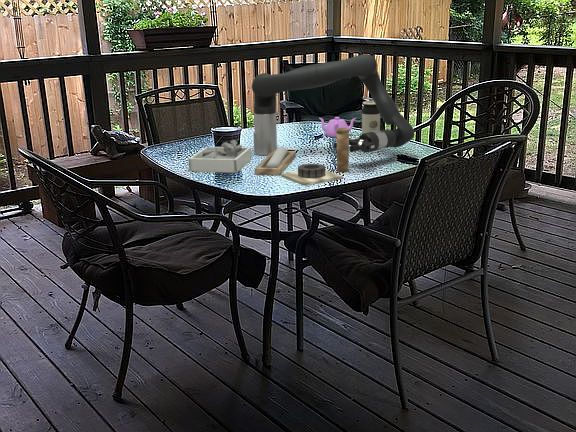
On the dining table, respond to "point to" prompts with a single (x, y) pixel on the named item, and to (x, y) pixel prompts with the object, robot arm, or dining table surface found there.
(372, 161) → the dining table surface
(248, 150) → the coral tray
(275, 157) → the tube
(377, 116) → the travel mug
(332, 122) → the teapot
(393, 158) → the dining table surface
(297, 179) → the collar board
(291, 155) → the tube rest
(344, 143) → the dowel
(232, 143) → the coral
